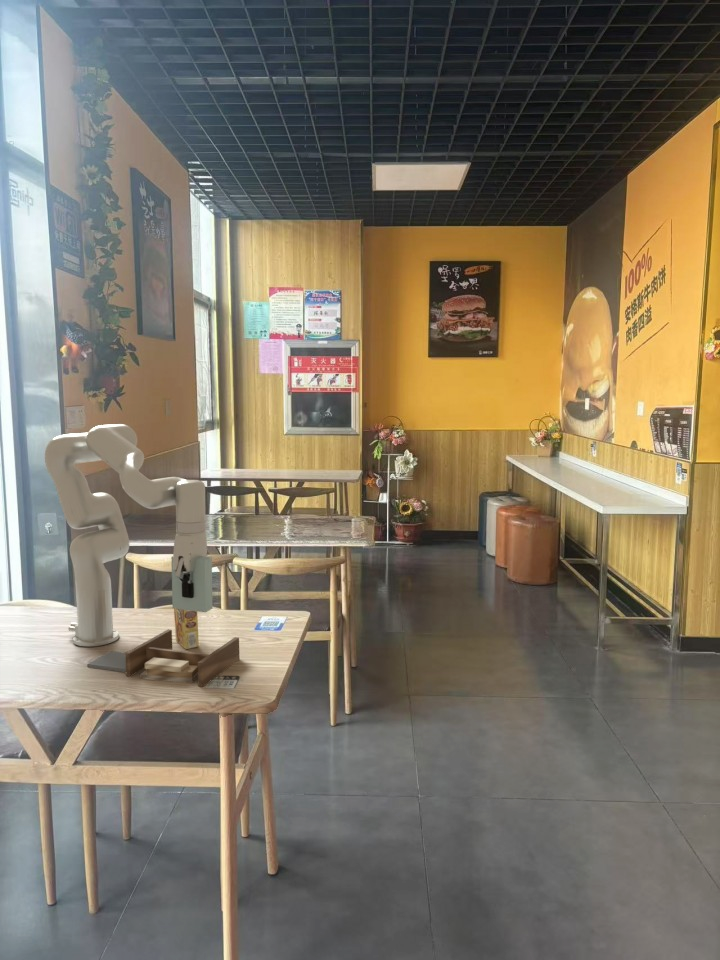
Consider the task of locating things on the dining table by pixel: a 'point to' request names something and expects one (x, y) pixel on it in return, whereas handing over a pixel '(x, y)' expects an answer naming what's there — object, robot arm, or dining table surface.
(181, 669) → the offcut stack
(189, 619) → the candy box
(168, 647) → the rack
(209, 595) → the pale mint block
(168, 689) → the dining table surface
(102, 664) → the rubber mat
